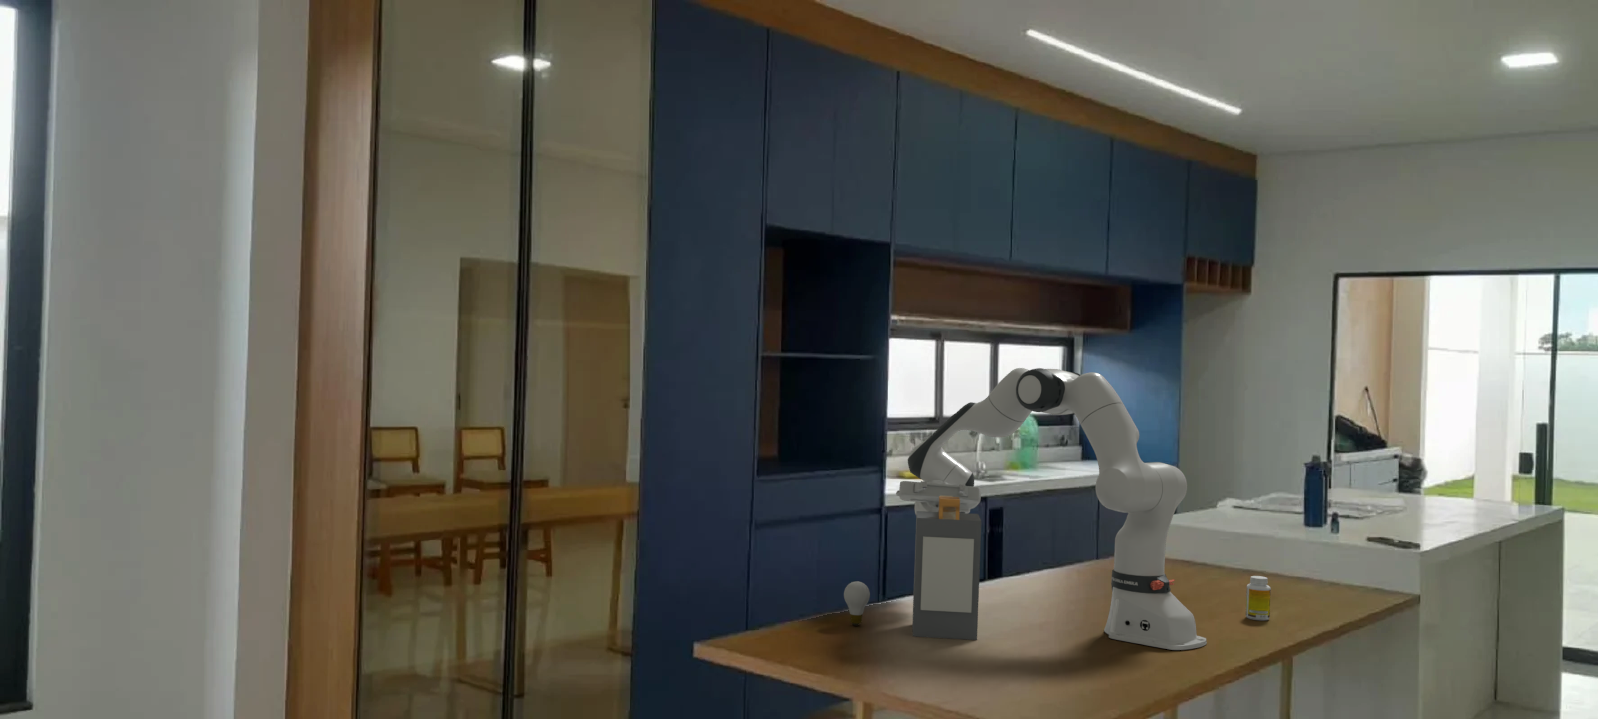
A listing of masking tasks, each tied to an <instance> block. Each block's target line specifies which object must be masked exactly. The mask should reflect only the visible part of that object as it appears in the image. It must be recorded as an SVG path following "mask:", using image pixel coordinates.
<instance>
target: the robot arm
mask: <svg viewBox="0 0 1598 719" xmlns="http://www.w3.org/2000/svg"><path fill="white" fill-rule="evenodd" d="M1032 412H1034V413H1042V414H1049V415H1053V416H1061V415H1062V416H1064V415H1066V416H1067V415H1068V416H1074V415H1075V417H1076V418H1077V420H1078V423H1079V424H1080V426H1081V428H1082V431H1083V432H1084V434H1085V436H1086V438H1087V439H1088V441H1089V444H1090V445H1091V447H1092V450H1093V451H1094V454H1095V457H1096V461H1097V465H1098V476H1097V478H1096V481H1095V494H1096V497H1097V499H1098V501H1099V503H1100V505H1102V506H1103V507H1105V508H1106V509H1108V510H1112V511H1115V512H1119V513H1126V514H1127V516H1126V518H1125V521H1124V523H1123V526H1122V527H1121V528H1120V529H1119V530H1118V531H1117V533H1116V535H1115V538H1114V556H1113V558H1114V561H1113V569H1112V570H1111V582H1110V584H1111V592H1112V594H1111V600H1110V601H1111V602H1110V607H1109V612H1108V617H1107V620H1106V624H1105V626H1104V630H1103V632H1104V633H1105V634H1107V635H1108V638H1110V639H1112V640H1117V641H1122V642H1127V643H1132V644H1139V645H1144V646H1149V647H1154V648H1160V649H1167V650H1172V651H1180V650H1181V651H1185V650H1192V649H1196V648H1197V649H1198V648H1201V647H1204V646H1206V645H1207V643H1208V642H1207V637H1204V636H1200V635H1197V625H1196V619H1195V616H1194V614H1193V613H1192V611H1190V610H1189V609H1188V608H1187V607H1186V606H1185V605H1184V604H1183V603H1182V602H1181V601H1180V600H1179V599H1178V598H1177V597H1176V596H1175V595H1174V594H1173V593H1172V592H1171V586H1173V585H1175V583H1173V582H1175V581H1176V580H1175V579H1169V578H1168V577H1167V575H1166V573H1165V565H1166V564H1165V560H1166V558H1165V557H1166V545H1167V537H1168V535H1169V529H1170V527H1171V523H1172V520H1173V517H1174V515H1175V512H1176V510H1177V509H1178V508H1177V507H1179V505H1180V504H1181V502H1183V500H1184V498H1186V495H1187V492H1188V482H1187V478H1186V476H1185V474H1184V472H1182V470H1181V469H1179V467H1176V466H1173V465H1172V464H1167V463H1164V462H1159V461H1157V462H1156V461H1155V462H1144V461H1143V460H1142V459H1141V457H1140V454H1139V451H1138V446H1137V443H1138V442H1139V439H1140V431H1139V429H1138V427H1137V426H1136V424H1135V422H1134V420H1133V418H1132V416H1131V415H1130V413H1129V411H1128V409H1127V408H1126V406H1125V404H1124V402H1123V401H1122V399H1121V397H1120V396H1119V394H1118V393H1117V391H1116V390H1115V388H1114V387H1113V386H1112V384H1111V383H1109V381H1108V380H1107V379H1106V378H1105V376H1103V375H1102V374H1100V373H1098V372H1093V371H1092V372H1086V373H1082V374H1080V373H1078V372H1076V371H1075V372H1073V371H1072V372H1071V371H1066V370H1062V369H1059V368H1040V367H1037V368H1032V369H1028V368H1025V367H1018V368H1014V369H1012V370H1010V371H1009V373H1008V374H1006V375H1005V376H1004V377H1003V378H1002V379H1001V380H1000V381H999V382H998V383H997V384H996V385H995V387H994V388H993V389H992V390H991V392H990V393H989V394H988V396H986V398H985V399H983V400H981V401H979V402H968V403H966V404H965V405H963V406H962V407H960V408H959V410H957V411H956V412H955V413H954V414H952V415H951V416H950V417H949V418H948V419H947V420H946V421H945V422H944V423H943V424H941V425H940V426H939V427H938V428H937V429H936V430H935V431H934V432H933V433H932V434H931V436H929V437H928V438H926V439H925V440H924V441H922V442H921V443H919V444H918V445H916V446H915V447H914V448H913V450H911V451H910V453H909V455H908V457H907V465H908V470H909V472H910V473H911V474H912V475H914V476H915V477H917V478H918V479H920V480H921V481H909V480H902V481H901V480H900V483H899V488H898V490H897V491H895V492H896V493H895V495H896V496H897V497H899V499H900V500H901V501H905V502H914V514H915V515H916V512H917V511H926V512H939V496H940V495H949V496H952V497H959V499H960V513H968V514H971V510H972V509H975V508H977V506H978V505H979V504H980V503H981V497H982V490H981V487H979V486H975V474H974V472H972V471H971V470H970V469H969V468H967V466H965V465H963V464H962V463H961V462H960V461H958V460H957V459H956V458H954V457H953V456H952V455H951V454H949V453H948V452H946V451H945V450H944V448H943V445H944V444H946V443H947V442H948V441H949V440H950V439H951V438H953V436H954V435H955V434H956V433H958V432H961V431H971V432H975V433H978V434H982V435H984V436H985V437H986V436H987V437H991V438H1007V437H1010V436H1012V435H1013V434H1014V433H1015V432H1016V431H1017V430H1018V429H1020V427H1022V424H1024V422H1025V421H1026V420H1027V419H1028V417H1029V416H1030V415H1031V413H1032Z"/></svg>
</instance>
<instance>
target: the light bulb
mask: <svg viewBox="0 0 1598 719" xmlns="http://www.w3.org/2000/svg"><path fill="white" fill-rule="evenodd" d="M870 597H871V592H870V589H869V587H868V586H867V585H866V584H865V583H864V582H862V581H858V580H857V581H851V582H849V583H848V584H847V585H846V586H845V588H844V591H843V598H844V601H845V603H846V605H847V608H848V611H849V616H850V618H849V622H850V623H851V625H852V626H854V627H857V626H860V624H861V623H862V621H863V619H862V618H863V614H864V611H865V608H866V606H867V604H868V602H869V601H870V599H871V598H870Z"/></svg>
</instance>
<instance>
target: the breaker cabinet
mask: <svg viewBox="0 0 1598 719" xmlns="http://www.w3.org/2000/svg"><path fill="white" fill-rule="evenodd" d="M938 513H939V512H926V511H917V512H916V514H915V518H916V520H915V542H914V543H915V544H914V570H913V572H914V573H913V575H914V576H913V593H912V594H913V598H912V600H913V601H912V624H911V625H912V626H911V627H912V637H919V638H936V639H938V638H939V639H953V640H971V641H978V628H979V627H978V626H979V625H978V624H979V622H978V620H979V594H980V593H979V592H980V573H981V572H980V571H981V570H980V569H981V566H980V565H981V547H982V546H981V543H982V542H981V540H982V539H981V538H982V519H981V517H980V515H979V513H959V520H950V519H939V516H938Z"/></svg>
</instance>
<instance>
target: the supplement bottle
mask: <svg viewBox="0 0 1598 719" xmlns="http://www.w3.org/2000/svg"><path fill="white" fill-rule="evenodd" d="M1268 579H1269V578H1268V577H1265V576H1262V575H1261V576H1260V575H1252V576H1250V579H1249V583H1248V584H1247V585H1246V591H1245V592H1246V594H1245V596H1246V597H1245V617H1246V618H1247V619H1249V620H1253V621H1262V622H1263V621H1265V622H1266V621H1268V620H1270V617H1271V590H1272V589H1271V586H1269V585H1268V582H1269V581H1268Z"/></svg>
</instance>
